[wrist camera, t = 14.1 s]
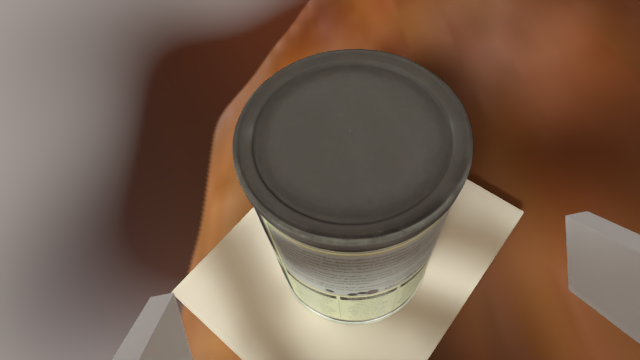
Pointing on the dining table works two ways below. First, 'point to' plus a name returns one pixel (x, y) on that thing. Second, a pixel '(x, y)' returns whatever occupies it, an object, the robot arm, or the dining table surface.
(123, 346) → the robot arm
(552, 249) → the dining table surface
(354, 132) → the coffee can
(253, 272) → the birch board
